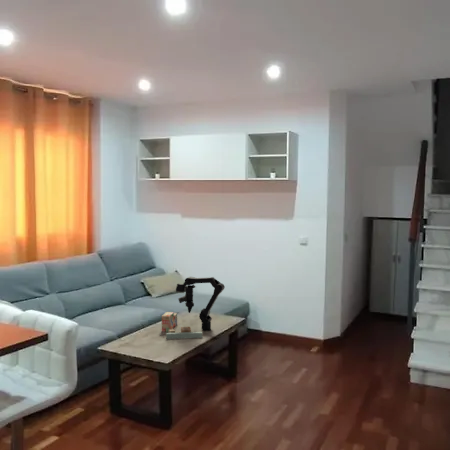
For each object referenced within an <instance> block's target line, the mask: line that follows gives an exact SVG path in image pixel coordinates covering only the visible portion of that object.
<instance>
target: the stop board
mask: <svg viewBox="0 0 450 450" xmlns="http://www.w3.org/2000/svg"><path fill="white" fill-rule="evenodd" d="M165 336H166V339H167V340H170V339H171V340H172V339H174V340H175V339H197V338H198V339H201V338H203V331H191V332H181V331H180V332H175V333H168V332H166V335H165Z"/></svg>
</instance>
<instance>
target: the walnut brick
mask: <svg viewBox="0 0 450 450" xmlns="http://www.w3.org/2000/svg"><path fill="white" fill-rule="evenodd" d="M180 332H192V329H191V326H180Z"/></svg>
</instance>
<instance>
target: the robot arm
mask: <svg viewBox="0 0 450 450" xmlns="http://www.w3.org/2000/svg"><path fill="white" fill-rule="evenodd" d="M195 284H210V285H211V286H212V287H213V288H214V289H213V294H212V295H211V298H210V299H209V301H208V303H207V304H206V306H205V308H203V309H200V313H199V316H198V317H199V320H200V321H201V330H202V332H203V331H205V332H206V331H212V327H211V324H212V323H211V321H212V319H213V317H211V315H210V314H211V311H212V309H213V306H214V304H215V303H216V300H218V297H219V296H220V295H221V294H222V292H223V291H224V290H225V285H224V284H223V283H221V282H220V281H219V280H218V279H216V278H215V277H214V276H212V277H194V276H188V277H186V278H185V279H184V282H183V283H177V284H176V288H175V292H176V293H179V294H180V293H183V294H184V293H185V295H183V296H180V297H178V298H177V299H178V302H179V304H182V303H184V304H185V307H187V313H189V314H190V313H191V312H192V308H193V307H194V306H195V303H194V288H196V285H195Z"/></svg>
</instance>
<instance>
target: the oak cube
mask: <svg viewBox="0 0 450 450" xmlns="http://www.w3.org/2000/svg"><path fill="white" fill-rule="evenodd" d="M167 333H176V330H175V329H174V328H173V329H171V330H168V332H167Z"/></svg>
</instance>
